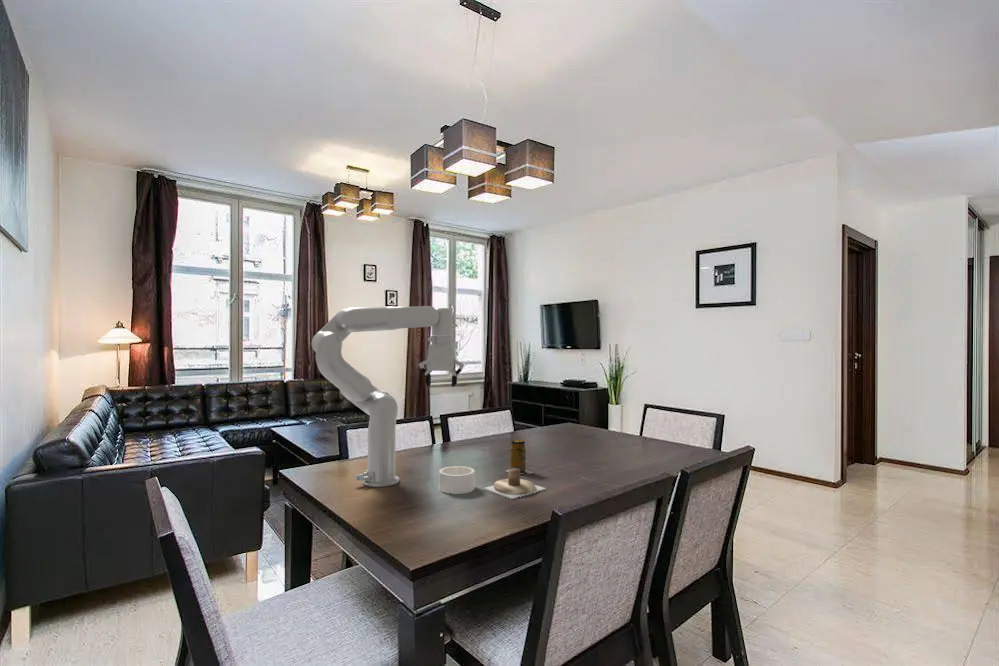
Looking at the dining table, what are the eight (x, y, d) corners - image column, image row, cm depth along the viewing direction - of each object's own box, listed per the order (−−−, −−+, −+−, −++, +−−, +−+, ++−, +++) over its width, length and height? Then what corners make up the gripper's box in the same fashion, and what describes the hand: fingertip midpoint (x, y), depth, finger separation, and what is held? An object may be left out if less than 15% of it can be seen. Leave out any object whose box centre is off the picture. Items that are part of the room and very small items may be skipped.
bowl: (453, 496, 163) (453, 477, 163) (432, 487, 172) (432, 470, 172) (481, 488, 171) (481, 471, 172) (459, 481, 180) (459, 464, 180)
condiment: (518, 468, 199) (518, 438, 199) (533, 473, 193) (533, 441, 193) (504, 471, 195) (504, 440, 195) (518, 476, 188) (519, 444, 188)
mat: (511, 499, 160) (511, 497, 160) (483, 489, 171) (483, 487, 171) (545, 489, 171) (545, 488, 171) (516, 480, 182) (516, 479, 182)
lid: (513, 497, 161) (513, 477, 161) (485, 487, 171) (485, 469, 172) (543, 488, 171) (543, 470, 171) (514, 479, 181) (514, 462, 181)
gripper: (416, 340, 187) (416, 386, 187) (462, 341, 185) (461, 387, 185) (422, 340, 194) (421, 384, 194) (466, 340, 192) (465, 385, 192)
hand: (441, 385), depth 189 cm, fingers open, 9 cm apart
